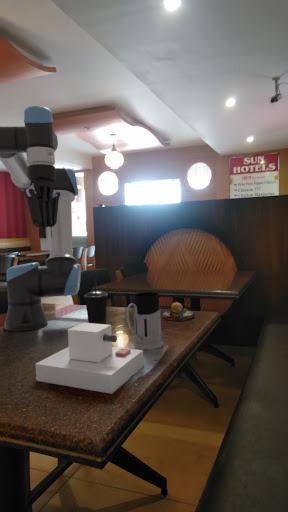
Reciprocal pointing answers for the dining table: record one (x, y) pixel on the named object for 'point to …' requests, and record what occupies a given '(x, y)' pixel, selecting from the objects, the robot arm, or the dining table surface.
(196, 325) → the dining table surface
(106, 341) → the plug
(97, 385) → the socket
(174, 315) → the burger
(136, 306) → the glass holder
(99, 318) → the drinking cup
